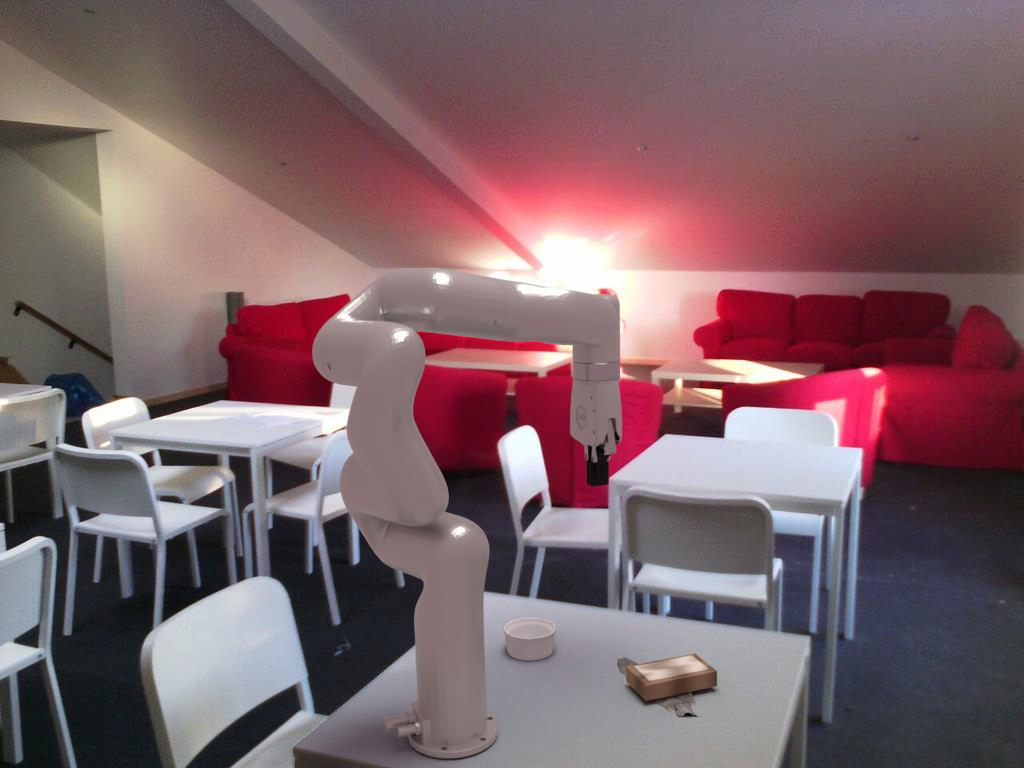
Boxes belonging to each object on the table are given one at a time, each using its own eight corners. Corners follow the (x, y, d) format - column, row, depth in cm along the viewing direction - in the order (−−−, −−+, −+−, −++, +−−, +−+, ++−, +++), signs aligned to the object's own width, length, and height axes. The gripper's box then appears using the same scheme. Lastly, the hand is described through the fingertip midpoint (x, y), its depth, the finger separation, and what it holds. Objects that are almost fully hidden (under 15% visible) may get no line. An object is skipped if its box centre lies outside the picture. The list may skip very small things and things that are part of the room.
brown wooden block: (626, 681, 135) (645, 700, 129) (626, 665, 135) (645, 684, 129) (694, 667, 139) (717, 686, 133) (694, 652, 139) (717, 669, 133)
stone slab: (614, 657, 143) (674, 651, 144) (614, 668, 144) (675, 662, 144) (635, 718, 126) (704, 711, 126) (635, 730, 126) (704, 722, 126)
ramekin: (499, 643, 152) (499, 619, 151) (549, 637, 154) (549, 614, 153) (509, 666, 143) (508, 641, 143) (562, 660, 145) (561, 635, 144)
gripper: (555, 368, 145) (557, 477, 148) (596, 379, 131) (598, 498, 134) (596, 365, 148) (597, 472, 151) (640, 376, 134) (641, 492, 137)
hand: (597, 484), depth 142 cm, fingers closed
